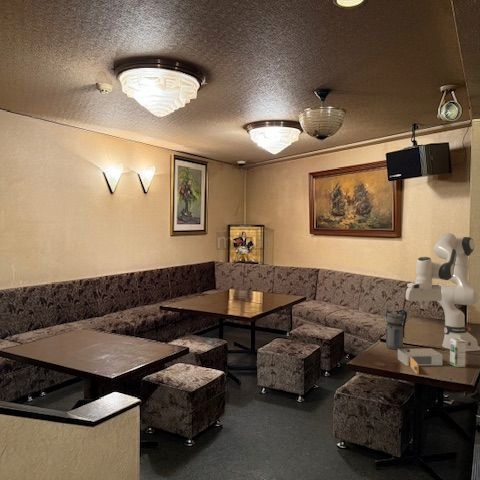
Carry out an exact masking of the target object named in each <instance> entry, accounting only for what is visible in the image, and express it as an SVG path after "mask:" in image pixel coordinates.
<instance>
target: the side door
mask: <svg viewBox="0 0 480 480" xmlns="http://www.w3.org/2000/svg"><path fill="white" fill-rule="evenodd" d="M409 367H410V368H411V369H412V371H414V373H415V374H416V375H419V374H420V373H419V371H420V369H419V368H420V366H419V365H418V364H417V362H416V361H415V360H414V359H413V358H412V356H410V366H409Z"/></svg>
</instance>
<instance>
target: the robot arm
mask: <svg viewBox="0 0 480 480" xmlns="http://www.w3.org/2000/svg"><path fill="white" fill-rule="evenodd" d="M475 245H476V244H475V241H474V239H473V238H472V237H469V236H463V237H462V236H461V237H457V236H455V234H454V233H450V232H446V233H443V234H442V235H441V236H440V237H439V238H438V239H437V241H436V242H435V244H434V246H433V252H434V254H435V255H436V256H437V257H438V258H439V259H443V260H446V262H435V261H434V262H433V261H432V258H431V257H428V256H421V257H418V258H417V260H416V263H415V274H416V277H415V280H414V281H413V282H410V283H407V285H406V286H407V288H406V290H405V300H406V301H408V302H418V304H419V306H420V309H427V307H428V305H429V303H430V302H437V303H438V304H439V305H440V306H441V308H442V309H443V313H444V326H443V327H444V328H443V329H444V331H443V332H444V337H443V341H442V344H441V347H443V349H444V348H445V349H447V350H450V339H451V338H459V339H462V340H464V341H466V350H465V352H475V351H480V346H479V343H478V340H477V338H475V336H473V335H472V334H471V333H469V332H471V327H469V326H468V327H467V326H465V324H466V323H465V317H466V316H465V313H464V312H463V311H462V310H460V309H459V308H457V307H456V306H455V305H460V306H461V305H462V306H463V305H464V306H471V305H476V304H477V302H478V301H479V294H478V292H477V291H478V290H476V289H474V288H473V286H471V284H470V283H469V277H468V276H469V268H470V259H469V256H471V254H473V252H474V250H475ZM433 279H434V280H436V279H437V280H444V281H451V283H453V284H455V285H456V286H453V285H451V286H450V285H440V284H433ZM423 302H425V303H424V304H423Z"/></svg>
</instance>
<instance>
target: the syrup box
mask: <svg viewBox="0 0 480 480" xmlns="http://www.w3.org/2000/svg"><path fill="white" fill-rule="evenodd" d="M465 350H466V341H464V340H462V339H459V338H451V339H450V349H449V365H452V366H453V367H456V368H466V351H465Z"/></svg>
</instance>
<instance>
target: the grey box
mask: <svg viewBox="0 0 480 480" xmlns="http://www.w3.org/2000/svg"><path fill="white" fill-rule="evenodd" d="M410 356H412V358H413V359H414V360H415V361H416V362H417V364H418V365H419V367H423V366H425V367H426V366H427V367H428V366H431V367H432V366H433V367H434V366H435V367H436V366H439V367H440V366H443V354H441V352H439V351H436V350H435V349H434V348H432V347H431V348H402V349H398V350H397V360H398V361H400V362H401V363H402V364H404V365H405V366H406V367H410Z"/></svg>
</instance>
